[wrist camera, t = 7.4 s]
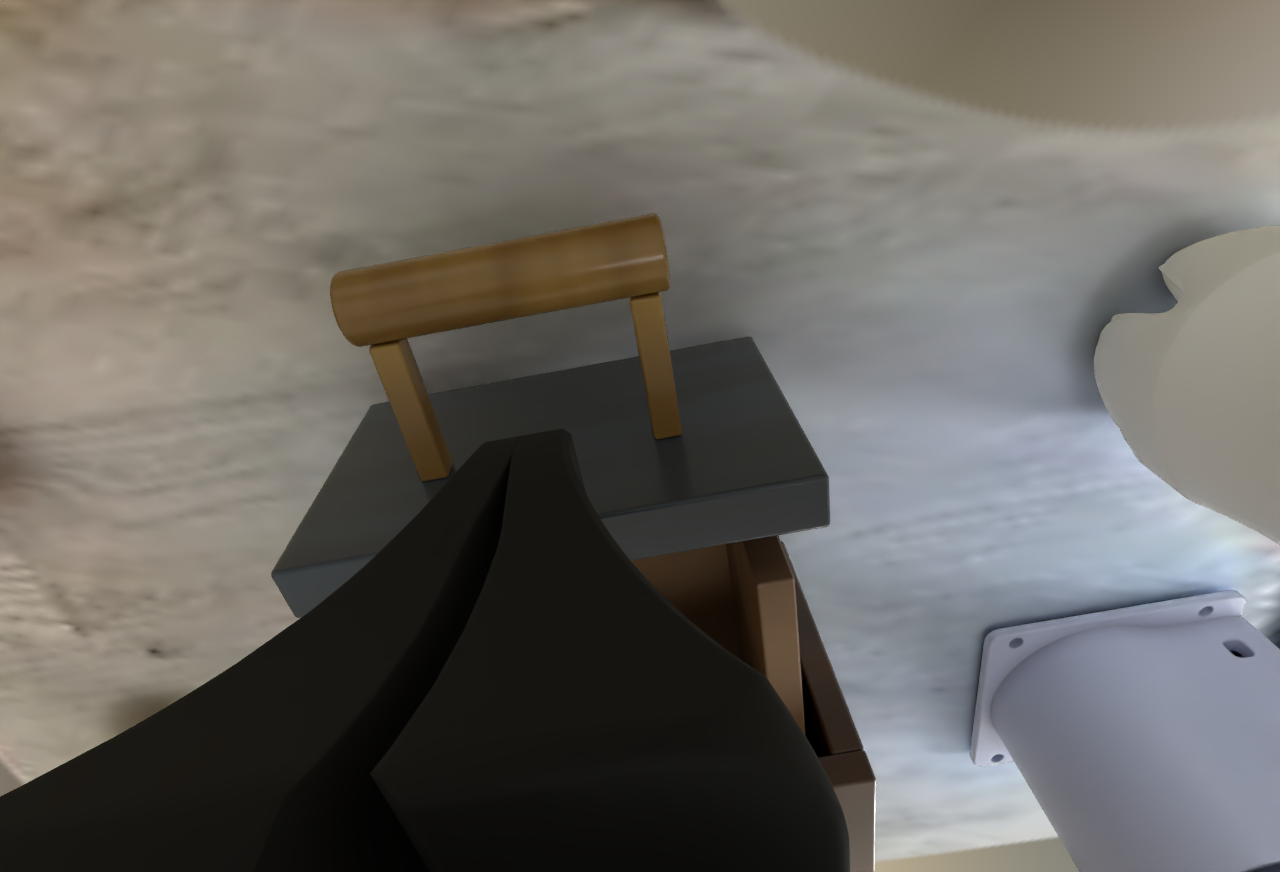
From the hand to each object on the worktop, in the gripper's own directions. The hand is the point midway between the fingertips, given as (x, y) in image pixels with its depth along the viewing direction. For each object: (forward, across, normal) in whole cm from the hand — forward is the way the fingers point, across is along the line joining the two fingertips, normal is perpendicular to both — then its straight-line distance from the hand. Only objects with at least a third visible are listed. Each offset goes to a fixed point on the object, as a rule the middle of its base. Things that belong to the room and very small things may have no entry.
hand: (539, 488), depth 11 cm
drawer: (+8, 0, +5) cm, 10 cm away
